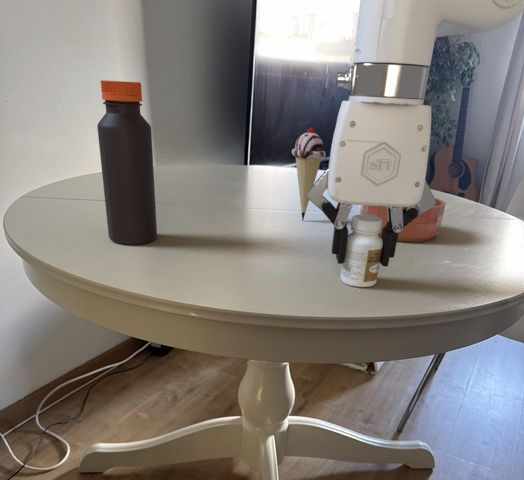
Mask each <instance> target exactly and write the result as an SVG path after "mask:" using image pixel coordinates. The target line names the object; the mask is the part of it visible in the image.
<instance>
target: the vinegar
mask: <svg viewBox="0 0 524 480" xmlns="http://www.w3.org/2000/svg"><path fill="white" fill-rule="evenodd" d="M100 89H101V91H100V92H101V100H103V102H102V104H103V105H105V114H104V115H103V116H102V118H101V119H100V120H99V121H98V123H97V136H98V146H99V156H100V166H101V167H100V168H101V174H102V184H103V194H104V203H105V205H104V206H105V213H106V225H107V232H108V238H109V240H110V241H111V242H113V243H115V244H120V245H125V246H126V245H129V246H131V245H132V246H134V245H144V244H149V243H152V242H154V241H155V240H156V239H157V236H158V227H157V210H156V209H157V208H156V190H155V189H156V187H155V175H154V174H155V173H154V153H153V137H152V135H153V134H152V127H151V124H150V123H149V122H148V120H146V119H145V117H144V116H143V115H142V114H141V107H142V106H143V104H142V103H141V102H143V92H142V91H143V89H142V83H141V82H139V81H124V80H123V81H122V80H121V81H120V80H107V79H105V80H104V79H101V80H100Z"/></svg>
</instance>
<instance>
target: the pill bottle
mask: <svg viewBox="0 0 524 480" xmlns="http://www.w3.org/2000/svg"><path fill="white" fill-rule="evenodd" d="M382 221H383V220H382V218H380V217H377V216H373V215H360V214H355V215H353V216H352V217H351V224H350V227H351V228H350V229H351V231H352V232H350V233H348V239H347V247H346V254H345V261H344V263H342V264H341V270H340V276H339V278H340V281H341V282H342V283H343V284H345V285H347V286H351V287H356V288H369V287H373V286H375V285H376V283H377V281H378V276H379V275H378V274H379V269H380V265H381V263H380V258H381V253H382V247H383V240H382V238H381V237H380V236H378V235H379V233H380V232H381V228H382Z"/></svg>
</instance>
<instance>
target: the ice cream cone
mask: <svg viewBox="0 0 524 480" xmlns="http://www.w3.org/2000/svg"><path fill="white" fill-rule="evenodd" d="M291 154H292V155H293V156H294V157H295V163H296V174H297V182H298V183H297V184H298V192H299V201H300V210H301V211H300V212H301V220H302V222H303V221H304V218H305V215H306V213H307V208H308V205H309V202H310V200H309V199H308V197H307V193H308V191H309V190H310V189H311V187H312V186H313V185H314V184H315V182H316V178H317V176H318V172H319V168H320V165H321V161H323V159H325V157H326V156H327V155H326V154H327V153H326V151H325V150H324V142H323V140H322V138H321V136H320V135H319V134H317V133H316V132H315V130H314V128H312V127H310V128H309V129H308V130H307V131H306V132H304V133H302V134H300V135H299V136H298V138H297V139H296V141H295V145H294V148H293V149H291Z"/></svg>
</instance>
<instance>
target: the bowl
mask: <svg viewBox="0 0 524 480" xmlns="http://www.w3.org/2000/svg"><path fill="white" fill-rule="evenodd" d="M434 198H435V201H436V205H435V206H434V207H433V208H431V209H429V210H427V211H426V212H424V213H422V214H420V215H418V216H417V217H416V218H415V219H414V220H413V221H411V222H410V223H409V224H408V225H406V226H405V227H404V228H403V230H402V231H401V232H399V233H398V238H397V242H407V243H409V242H410V243H411V242H413V243H414V242H425V241H428V240H431V239H432V238H434V237H436V236H438V235H439V234H440V231H441V230H440V229H441V225H442V221H443V216H444V213H445V208H446V202H445V201H444V200H442V199H440V198H437V197H434ZM404 208H406V207H402V209H404ZM359 215H373V216H377V217H380V218H382V220H383V221H382V228H381V232H380V233H379V235H378V236H380V237H381V235H382V229H383V228H384V226H386V223H387V222H388V212H387V206H371V205H360V209H359Z"/></svg>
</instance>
